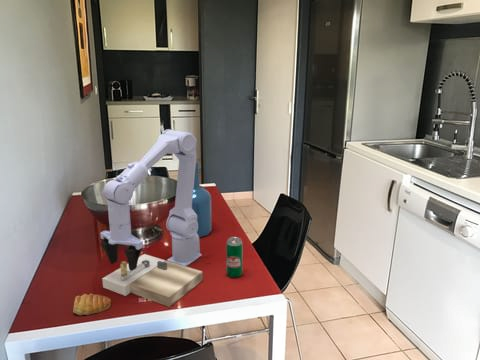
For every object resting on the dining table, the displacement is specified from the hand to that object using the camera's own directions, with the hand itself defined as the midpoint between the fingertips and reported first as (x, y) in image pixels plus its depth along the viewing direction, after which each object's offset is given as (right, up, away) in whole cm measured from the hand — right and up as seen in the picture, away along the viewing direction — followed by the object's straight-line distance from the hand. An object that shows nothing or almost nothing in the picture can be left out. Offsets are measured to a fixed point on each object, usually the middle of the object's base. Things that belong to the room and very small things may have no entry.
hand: (123, 265), depth 115 cm
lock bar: (+2, -3, +5) cm, 6 cm away
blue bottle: (+16, +4, +42) cm, 45 cm away
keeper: (+10, -2, +7) cm, 13 cm away
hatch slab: (+12, -7, +3) cm, 14 cm away
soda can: (+32, -5, +10) cm, 34 cm away
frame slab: (+2, -5, +8) cm, 10 cm away
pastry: (-7, -10, -7) cm, 14 cm away
